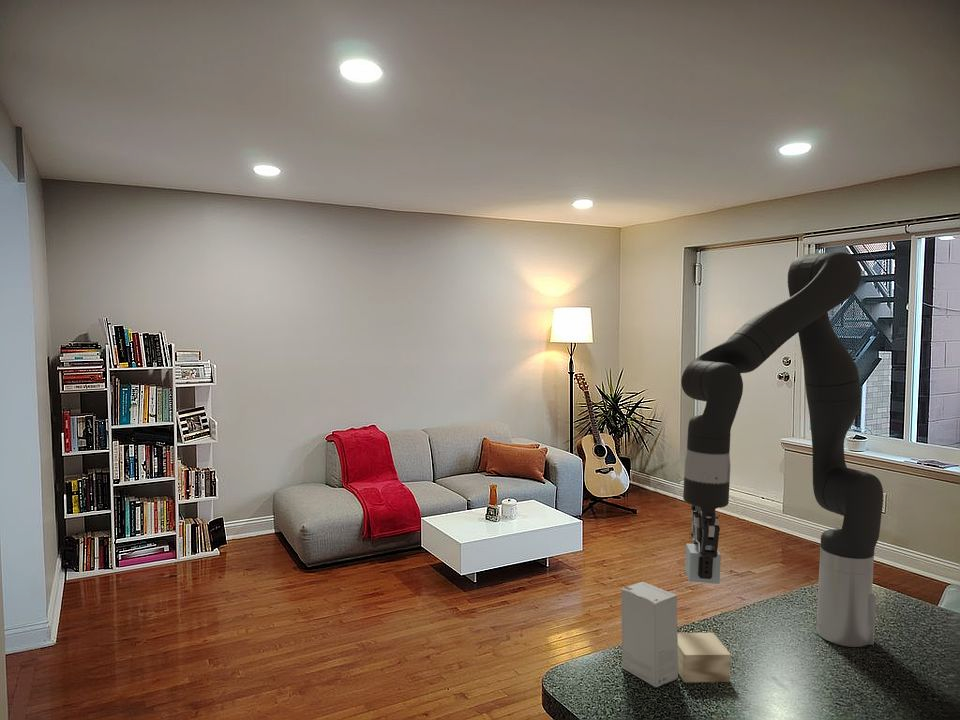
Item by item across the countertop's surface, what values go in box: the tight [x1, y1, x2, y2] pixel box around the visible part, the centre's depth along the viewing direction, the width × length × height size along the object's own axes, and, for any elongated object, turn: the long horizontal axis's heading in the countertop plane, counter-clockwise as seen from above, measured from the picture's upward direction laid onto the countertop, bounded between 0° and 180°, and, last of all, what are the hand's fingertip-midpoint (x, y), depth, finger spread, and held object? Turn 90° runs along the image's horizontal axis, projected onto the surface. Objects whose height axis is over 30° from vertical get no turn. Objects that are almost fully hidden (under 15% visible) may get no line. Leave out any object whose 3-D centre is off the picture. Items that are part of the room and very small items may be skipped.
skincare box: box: [620, 581, 679, 688], centre depth 117 cm, size 8×6×15 cm
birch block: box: [677, 632, 732, 683], centre depth 119 cm, size 8×8×5 cm
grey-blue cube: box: [684, 542, 722, 585], centre depth 118 cm, size 5×5×5 cm
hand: (702, 571), depth 118 cm, fingers closed on grey-blue cube, 5 cm apart
